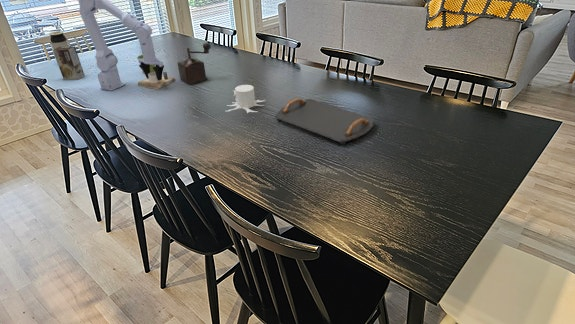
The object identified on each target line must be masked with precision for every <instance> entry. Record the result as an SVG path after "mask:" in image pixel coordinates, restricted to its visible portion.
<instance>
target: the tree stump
mask: <svg viewBox="0 0 575 324" xmlns="http://www.w3.org/2000/svg"><path fill="white" fill-rule="evenodd" d="M233 92H234V94H233V97H235V99H234V101H235V102H234V101H232V102H231V103H232V104H227V105H226V106H228V107H234V108H230V109H228V110H226V112H231V111H234V110H239V109H242V110H245V111H246V114H249V113H258V112H259V111H258V110H257V111H256V110H253V109H251V108H253V107H263V106H265V104H260V103H262V102H265V101H266V99H263V100H260V99H257V100H256V95H255V87H254V86H253V85H251V84H240V85H237V86H236V87H235V88H234V90H233ZM258 103H259V104H258Z"/></svg>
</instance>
